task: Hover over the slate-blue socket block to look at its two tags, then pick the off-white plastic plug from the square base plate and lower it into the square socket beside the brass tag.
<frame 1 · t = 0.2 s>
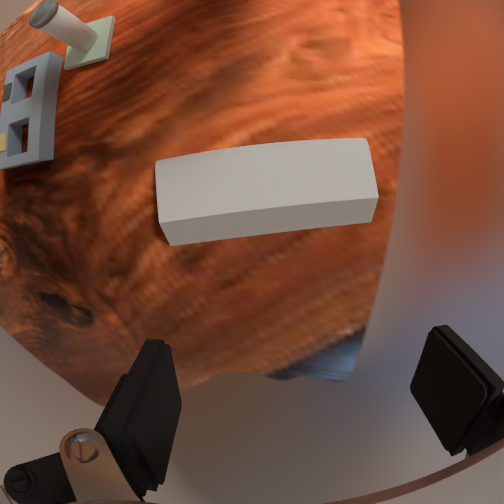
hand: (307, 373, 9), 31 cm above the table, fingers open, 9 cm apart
plug: (87, 41, 29), point 1 cm above the table, touching square base plate
square base plate: (90, 43, 30), on the table
crown molding: (267, 188, 39), on the table
socket block: (33, 112, 33), on the table
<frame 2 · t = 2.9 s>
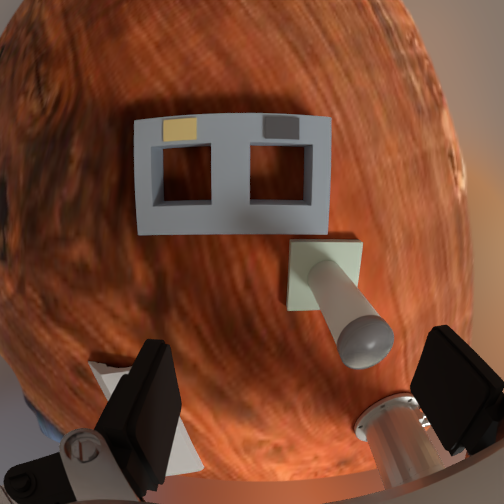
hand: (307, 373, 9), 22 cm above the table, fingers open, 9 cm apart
plug: (325, 277, 31), point 1 cm above the table, touching square base plate
square base plate: (322, 273, 32), on the table
crown molding: (152, 422, 41), on the table
socket block: (232, 172, 29), on the table
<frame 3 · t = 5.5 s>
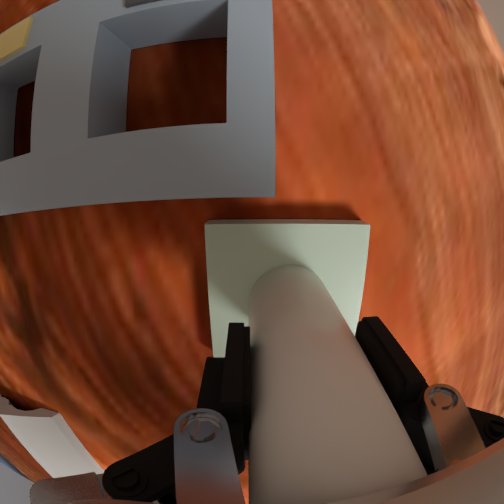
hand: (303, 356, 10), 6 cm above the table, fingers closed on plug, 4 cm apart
plug: (288, 302, 14), point 1 cm above the table, touching square base plate, gripper
square base plate: (285, 292, 16), on the table
crown molding: (82, 470, 24), on the table
socket block: (100, 99, 12), on the table
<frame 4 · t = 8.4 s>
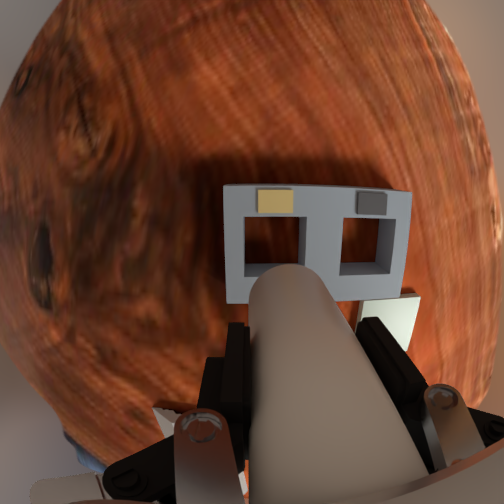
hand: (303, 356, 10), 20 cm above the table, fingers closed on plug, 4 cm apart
plug: (288, 301, 14), point 16 cm above the table, touching gripper
square base plate: (384, 323, 33), on the table
crown molding: (207, 455, 41), on the table
socket block: (314, 237, 30), on the table
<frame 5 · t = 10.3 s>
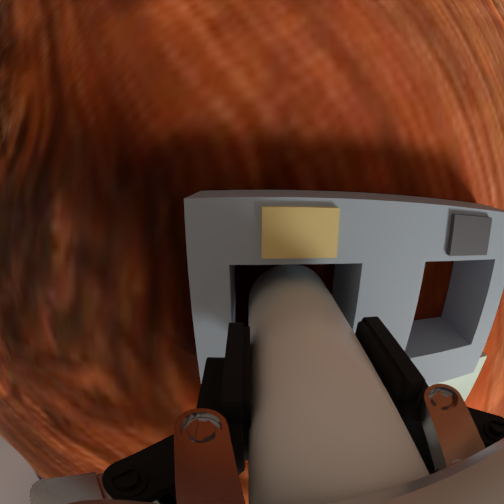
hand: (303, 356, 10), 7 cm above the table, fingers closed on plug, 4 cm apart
plug: (288, 301, 14), point 2 cm above the table, touching gripper
square base plate: (435, 391, 19), on the table
socket block: (359, 286, 16), on the table
when the fingers open (6 cm above the table, at t = 11.5 s): plug drops 1 cm, resting in socket block.
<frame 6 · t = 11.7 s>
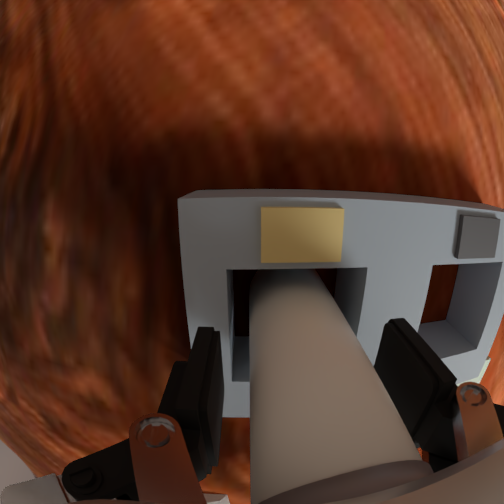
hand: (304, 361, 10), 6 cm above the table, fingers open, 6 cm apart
plug: (286, 292, 16), resting in socket block
socket block: (362, 289, 16), on the table
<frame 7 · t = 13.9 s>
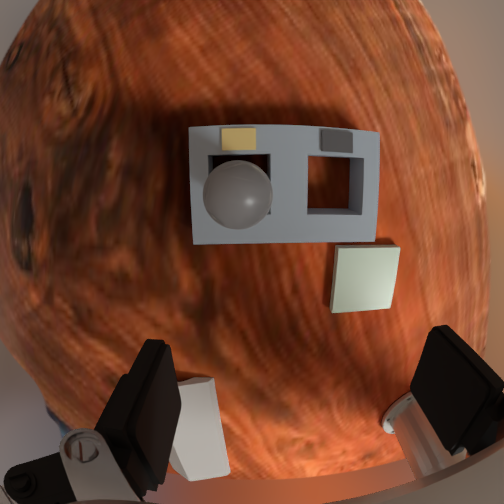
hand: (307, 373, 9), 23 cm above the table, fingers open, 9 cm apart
plug: (240, 181, 29), resting in socket block
square base plate: (363, 276, 33), on the table
crown molding: (189, 430, 42), on the table
socket block: (283, 181, 29), on the table
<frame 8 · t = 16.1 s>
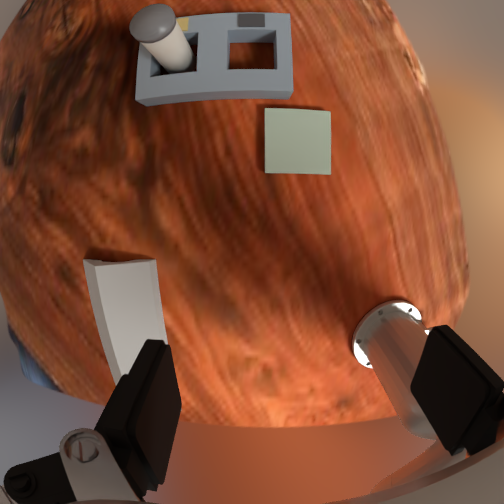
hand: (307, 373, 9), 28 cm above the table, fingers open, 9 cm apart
plug: (181, 64, 30), resting in socket block
square base plate: (297, 141, 33), on the table
crown molding: (134, 342, 42), on the table
socket block: (215, 61, 30), on the table
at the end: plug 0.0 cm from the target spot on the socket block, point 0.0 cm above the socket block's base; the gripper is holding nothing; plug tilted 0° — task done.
